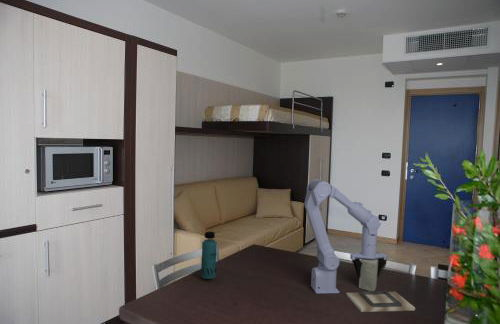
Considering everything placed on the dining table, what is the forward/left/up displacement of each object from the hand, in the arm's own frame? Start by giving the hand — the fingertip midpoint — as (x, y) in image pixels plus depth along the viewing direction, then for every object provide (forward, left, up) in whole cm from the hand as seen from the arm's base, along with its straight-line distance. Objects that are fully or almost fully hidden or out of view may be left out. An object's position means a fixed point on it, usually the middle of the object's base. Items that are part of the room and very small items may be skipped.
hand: (367, 276), depth 137 cm
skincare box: (0, 0, -5) cm, 5 cm away
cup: (+14, +18, -5) cm, 23 cm away
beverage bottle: (-64, +12, -5) cm, 65 cm away
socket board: (-1, -12, -5) cm, 13 cm away
